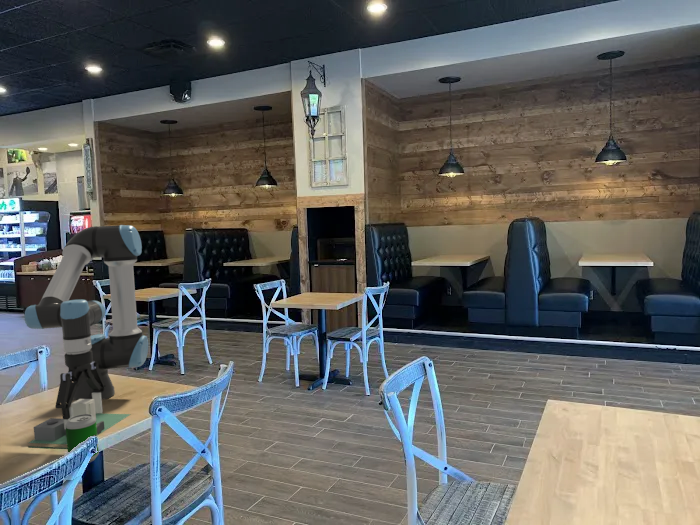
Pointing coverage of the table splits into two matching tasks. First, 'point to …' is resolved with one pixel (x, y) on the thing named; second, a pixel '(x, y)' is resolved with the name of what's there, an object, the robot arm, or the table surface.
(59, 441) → the board
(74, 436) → the soda can
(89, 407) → the plug
